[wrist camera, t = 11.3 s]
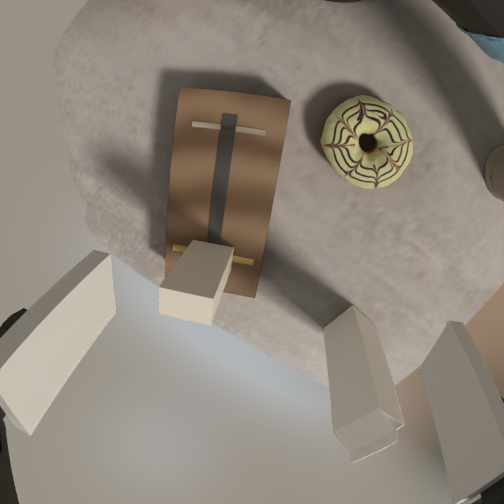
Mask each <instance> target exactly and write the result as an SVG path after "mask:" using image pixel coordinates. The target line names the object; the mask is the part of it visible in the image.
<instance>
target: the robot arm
mask: <svg viewBox="0 0 504 504" xmlns="http://www.w3.org/2000/svg"><path fill="white" fill-rule="evenodd" d="M326 1H332V2H356V1H361V0H326ZM433 1H434V2H435V3H436V4H437V5H438V6H439V7H440V8H441V9H442V10H443V11H444V12H445V13H446V14H447V15H448V16H449V17H450V18H451V19H452V20H453V21H454V22H455V23H456V25H457V27H458V28H459V29H460V30H461V31H463V32H464V33H465V34H467V35H469V36H470V37H471V38H472V39H473V41H474V42H475V43H476V44H477V45H478V46H479V47H480V48H481V49H482V50H483V51H484V52H485V53H486V54H487V55H488V56H489V57H491V58H492V59H494V60H497V61H500V62H502V63H504V0H433ZM115 313H116V306H115V298H114V288H113V279H112V268H111V256H110V254H108V253H104V252H100V251H96V250H93V251H92V252H91V253H90V254H89V255H88V256H86V257H85V258H84V259H83V260H82V261H81V262H79V263H78V264H77V265H76V266H75V267H74V268H73V269H71V270H70V271H69V272H68V273H67V274H66V275H65V276H63V277H62V278H61V279H60V280H59V281H58V282H57V283H56V284H55V285H54V286H53V287H51V289H49V290H48V291H47V292H46V293H45V294H44V295H43V296H42V297H41V298H40V299H39V300H38V301H37V302H36V303H35V304H34V305H33V306H31V307H30V308H29V309H28V310H26V309H24V308H23V309H21V310H20V311H18V312H16V313H14V314H12V315H11V316H10V317H9V318H8V319H7V320H6V321H5V322H4V323H3V324H2V326H1V327H0V504H19V502H18V497H17V493H16V490H15V485H14V480H13V475H12V470H11V465H10V458H9V452H8V445H7V437H6V427H5V424H4V421H3V418H4V417H5V415H7V417H8V418H9V419H10V420H11V422H12V423H13V424H14V425H15V426H17V427H18V428H20V429H21V430H22V431H24V432H26V433H27V434H29V435H30V436H31V434H32V433H33V431H34V429H35V428H36V426H37V425H38V423H39V421H40V420H41V418H42V417H43V415H44V414H45V412H46V410H47V409H48V407H49V406H50V404H51V403H52V401H53V400H54V398H55V397H56V395H57V394H58V392H59V391H60V389H61V388H62V386H63V385H64V383H65V382H66V380H67V379H68V377H69V376H70V375H71V373H72V372H73V370H74V369H75V367H76V366H77V364H78V363H79V362H80V360H81V359H82V358H83V356H84V355H85V353H86V352H87V351H88V349H89V348H90V346H91V345H92V344H93V342H94V341H95V340H96V338H97V337H98V336H99V334H100V333H101V332H102V330H103V329H104V328H105V326H106V324H108V322H109V321H110V320H111V318H112V317H113V316H114V314H115ZM419 372H420V375H421V378H422V381H423V384H424V388H425V391H426V394H427V397H428V400H429V404H430V407H431V411H432V414H433V417H434V421H435V425H436V429H437V432H438V436H439V441H440V444H441V449H442V453H443V457H444V462H445V466H446V471H447V476H448V481H449V486H450V492H451V498H452V504H459V503H462V502H466V501H469V500H470V499H472V498H473V497H475V496H477V495H478V494H480V493H481V498H480V499H478V500H477V501H475V502H473V503H472V504H504V399H503V398H502V397H501V396H500V394H499V392H498V390H497V387H496V385H495V383H494V381H493V379H492V377H491V375H490V373H489V371H488V369H487V367H486V365H485V363H484V361H483V359H482V357H481V355H480V353H479V351H478V350H477V348H476V346H475V344H474V342H473V340H472V339H471V337H470V335H469V333H468V332H467V330H466V328H465V326H464V325H463V323H461V322H454V321H448V323H447V325H446V327H445V328H444V330H443V332H442V333H441V335H440V337H439V338H438V340H437V342H436V343H435V345H434V347H433V348H432V350H431V351H430V353H429V354H428V356H427V357H426V359H425V361H424V362H423V364H422V365H421V367H420V368H419Z"/></svg>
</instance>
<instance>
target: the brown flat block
mask: <svg viewBox="0 0 504 504" xmlns="http://www.w3.org/2000/svg"><path fill="white" fill-rule="evenodd" d="M290 103H291V100H286V99H281V98H275V97H268V96H262V95H255V94H247V93H239V92H230V91H220V90H209V89H196V88H180V90H179V97H178V105H177V112H176V120H175V129H174V138H173V147H172V158H171V169H170V181H169V195H168V211H167V230H166V260H165V278H166V276H167V275H168V274H169V272H170V271H171V269H172V268H173V267H174V265H175V264H176V262H177V261H178V260H179V258H180V257H181V255H182V254H183V253H184V251H185V250H186V249H187V247H188V246H189V244H190V243H191V242H192V240H197V241H202V242H208V243H213V244H219V245H224V246H229V247H234V251H233V259H232V266H231V271H230V274H229V276H228V279H227V282H226V285H225V287H224V290H223V292H226V293H231V294H236V295H241V296H246V297H252V298H255V296H256V291H257V285H258V280H259V275H260V270H261V264H262V259H263V254H264V248H265V243H266V237H267V232H268V227H269V221H270V216H271V210H272V205H273V199H274V194H275V188H276V183H277V177H278V172H279V166H280V160H281V155H282V149H283V143H284V138H285V132H286V126H287V121H288V115H289V109H290Z"/></svg>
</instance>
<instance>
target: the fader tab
mask: <svg viewBox="0 0 504 504" xmlns="http://www.w3.org/2000/svg"><path fill="white" fill-rule="evenodd" d="M233 251H234V247H229V246H224V245H219V244H213V243H208V242H202V241H197V240H192V242H191V243H190V244H189V246H188V247H187V249H186V250H185V251H184V253H183V254H182V255H181V257H180V258H179V260H178V261H177V262H176V264H175V265H174V267H173V268H172V269H171V271H170V272H169V274H168V275H167V276H166V278H165V279H164V281H163V282H162V284H161V285H160V286H159V314H163V315H167V316H171V317H175V318H179V319H184V320H189V321H193V322H197V323H202V324H206V325H211V323H212V321H213V318H214V315H215V312H216V310H217V307H218V304H219V301H220V298H221V296H222V293H223V290H224V287H225V285H226V282H227V279H228V276H229V274H230V271H231V266H232V259H233Z"/></svg>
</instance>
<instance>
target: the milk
mask: <svg viewBox="0 0 504 504" xmlns="http://www.w3.org/2000/svg"><path fill="white" fill-rule="evenodd" d="M323 332H324V341H325V349H326V358H327V368H328V377H329V388H330V399H331V411H332V424H333V433H334V434H335V436H336V437H337V438H338V439H339V441H340V442H341V443H342V444H343V445H344V446H345V448H346V449H347V450H348V451H349V453H350V461H351V462H353V463H354V462H356V461H358V460H361V459H363V458H365V457H367V456H369V455H371V454H374V453H376V452H378V451H380V450H382V449H384V448H386V447H388V446H390V445H392V444H394V443H396V442H397V440H398V437H397V433H396V430H397V429H399V428H401V427H402V426H404V425H405V423H404V419H403V416H402V412H401V408H400V404H399V400H398V397H397V393H396V390H395V386H394V383H393V379H392V376H391V373H390V369H389V366H388V363H387V360H386V356H385V353H384V350H383V347H382V344H381V341H380V338H379V335H378V332H377V329H376V326H375V325H374V324H373V323H372V322H371V321H370V320H369V319H368V318H366V317H365V316H364V315H363V314H362V313H361V312H360V311H359V310H358V309H357V308H356V307H355V306H353V305H352V306H351V307H349V308H348V309H347V310H346V311H344V312H343V313H342V314H341V315H339V316H338V317H337V318H336V319H334V320H333V321H332V322H330V323H329V324H328V325H327V326H325V327H324V328H323Z"/></svg>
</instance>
